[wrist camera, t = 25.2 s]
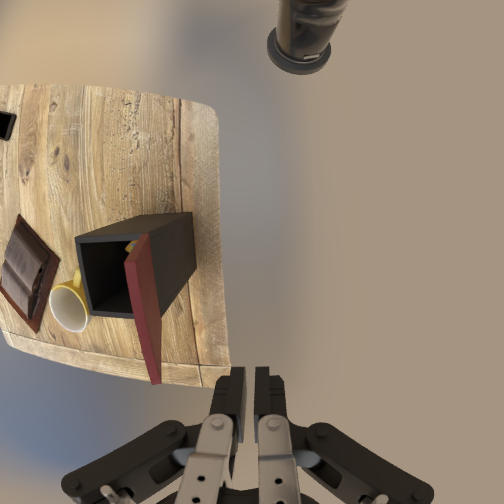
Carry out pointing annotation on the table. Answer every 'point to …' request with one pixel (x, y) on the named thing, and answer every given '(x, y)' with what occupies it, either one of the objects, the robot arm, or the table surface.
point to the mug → (70, 304)
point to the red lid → (145, 304)
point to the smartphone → (6, 124)
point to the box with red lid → (114, 255)
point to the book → (27, 273)
